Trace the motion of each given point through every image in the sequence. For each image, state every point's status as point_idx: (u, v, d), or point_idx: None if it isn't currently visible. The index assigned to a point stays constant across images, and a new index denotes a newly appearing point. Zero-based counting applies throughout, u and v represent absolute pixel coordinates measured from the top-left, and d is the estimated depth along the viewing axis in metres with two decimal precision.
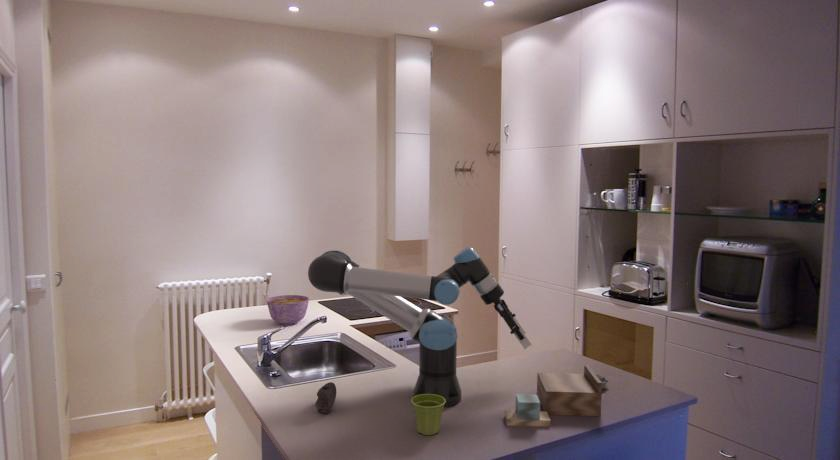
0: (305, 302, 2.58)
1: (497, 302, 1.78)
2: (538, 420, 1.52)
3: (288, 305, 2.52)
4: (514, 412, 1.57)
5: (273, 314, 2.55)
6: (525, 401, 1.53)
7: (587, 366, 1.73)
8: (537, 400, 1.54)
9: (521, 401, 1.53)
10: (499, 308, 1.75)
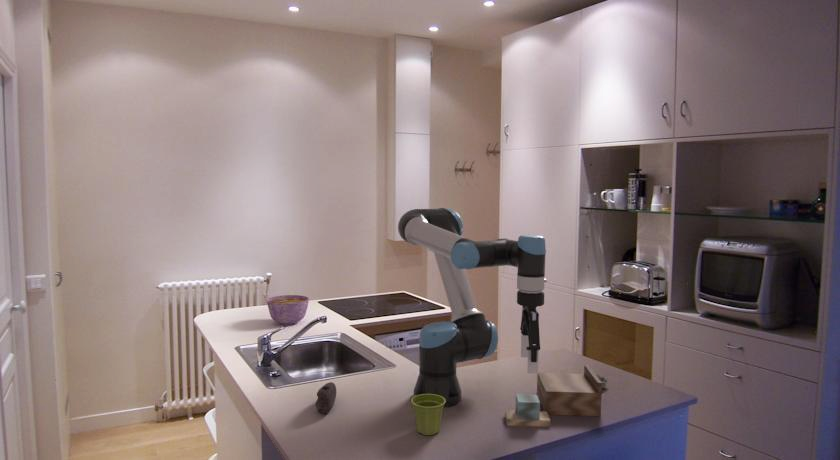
0: (305, 302, 2.58)
1: (532, 309, 1.49)
2: (538, 420, 1.52)
3: (288, 305, 2.52)
4: (514, 412, 1.57)
5: (273, 314, 2.55)
6: (525, 401, 1.53)
7: (587, 366, 1.73)
8: (537, 400, 1.54)
9: (521, 401, 1.53)
10: (532, 316, 1.46)
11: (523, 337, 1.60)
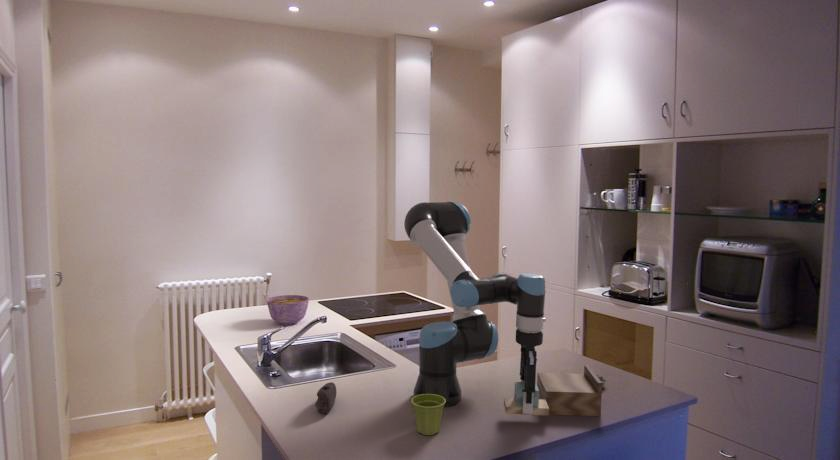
0: (305, 302, 2.58)
1: (530, 349, 1.50)
2: (537, 408, 1.53)
3: (288, 305, 2.52)
4: (513, 400, 1.58)
5: (273, 314, 2.55)
6: None
7: (587, 366, 1.73)
8: (536, 388, 1.54)
9: (520, 389, 1.53)
10: (530, 362, 1.48)
11: None
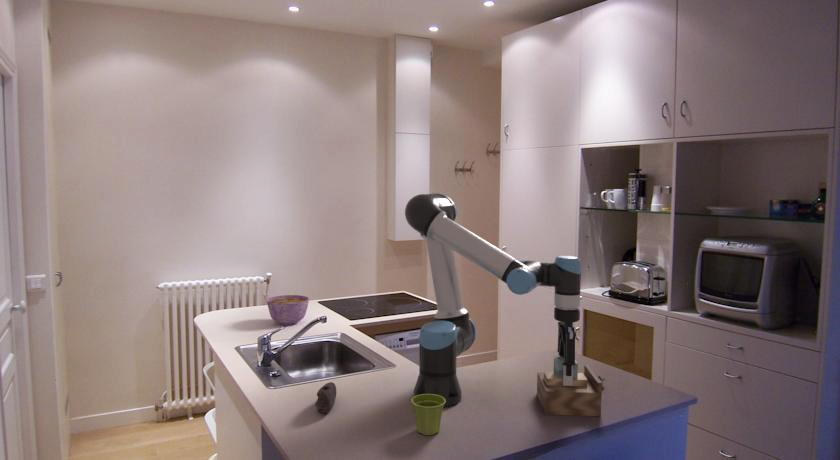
0: (305, 302, 2.58)
1: (569, 324, 1.62)
2: (576, 379, 1.64)
3: (288, 305, 2.52)
4: (552, 373, 1.69)
5: (273, 314, 2.55)
6: None
7: (587, 366, 1.73)
8: (575, 361, 1.65)
9: (560, 362, 1.64)
10: (569, 336, 1.59)
11: None
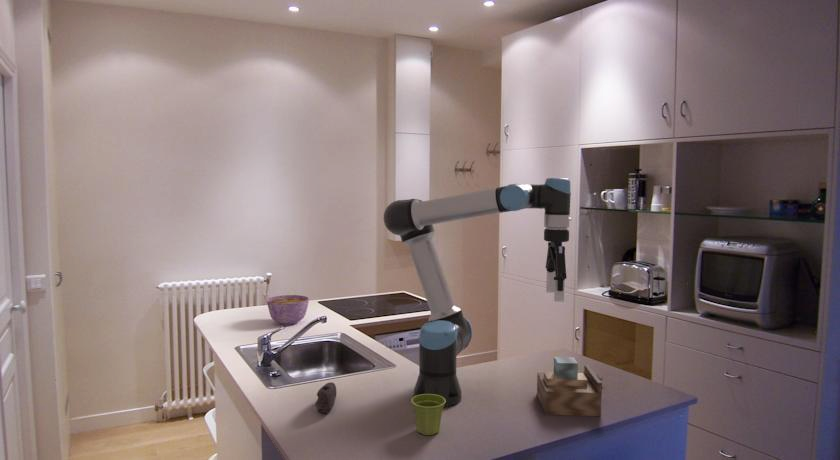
0: (305, 302, 2.58)
1: (558, 244, 1.64)
2: (576, 379, 1.64)
3: (288, 305, 2.52)
4: (552, 373, 1.69)
5: (273, 314, 2.55)
6: (564, 362, 1.64)
7: (587, 366, 1.73)
8: (575, 361, 1.65)
9: (560, 362, 1.64)
10: (559, 249, 1.61)
11: (548, 273, 1.75)
